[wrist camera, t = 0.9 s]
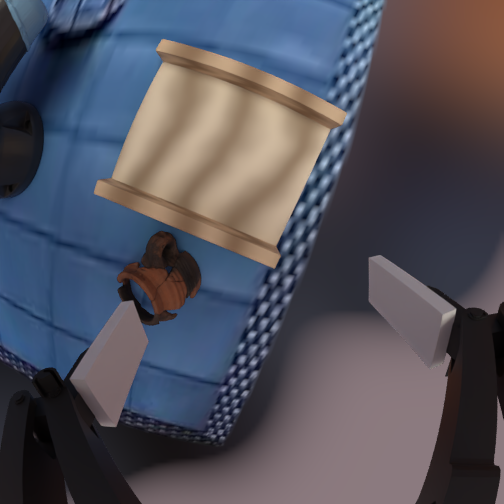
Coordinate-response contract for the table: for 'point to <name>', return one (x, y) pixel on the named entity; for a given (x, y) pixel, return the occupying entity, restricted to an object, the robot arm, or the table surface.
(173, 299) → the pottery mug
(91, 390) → the robot arm
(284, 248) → the table surface
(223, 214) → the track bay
